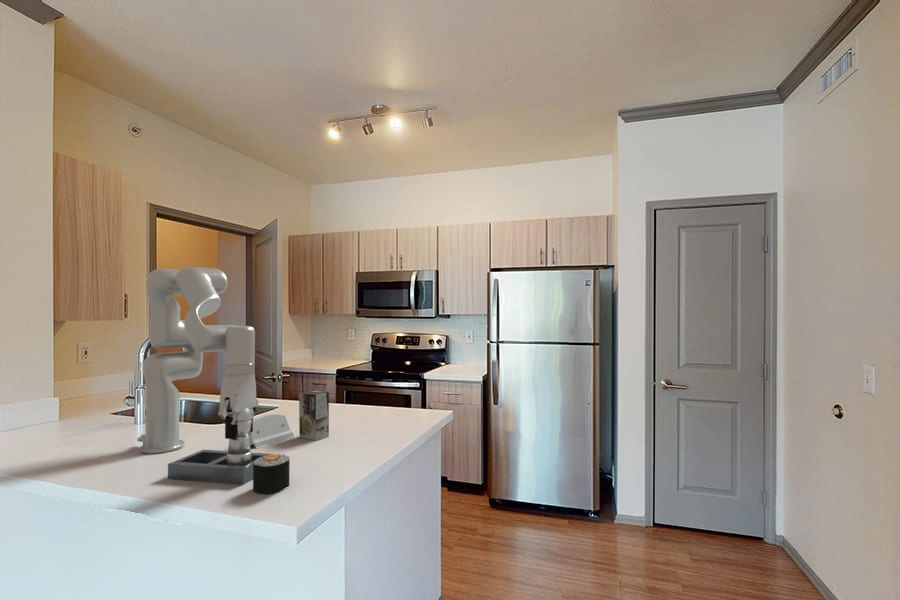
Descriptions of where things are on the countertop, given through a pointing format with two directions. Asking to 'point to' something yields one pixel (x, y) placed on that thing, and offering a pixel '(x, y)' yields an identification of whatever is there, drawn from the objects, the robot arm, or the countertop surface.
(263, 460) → the sushi
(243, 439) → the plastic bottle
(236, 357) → the robot arm
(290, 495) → the countertop surface
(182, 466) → the tray
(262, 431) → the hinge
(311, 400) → the coffee box
